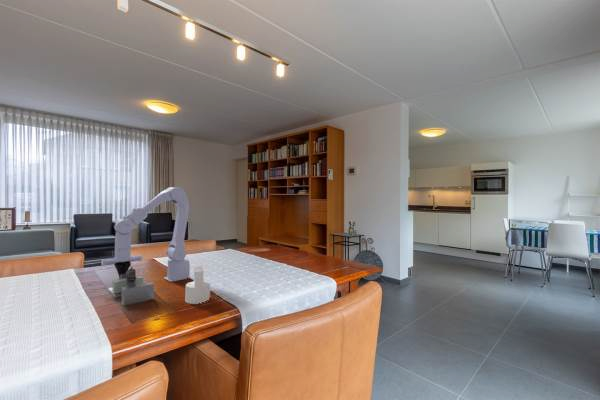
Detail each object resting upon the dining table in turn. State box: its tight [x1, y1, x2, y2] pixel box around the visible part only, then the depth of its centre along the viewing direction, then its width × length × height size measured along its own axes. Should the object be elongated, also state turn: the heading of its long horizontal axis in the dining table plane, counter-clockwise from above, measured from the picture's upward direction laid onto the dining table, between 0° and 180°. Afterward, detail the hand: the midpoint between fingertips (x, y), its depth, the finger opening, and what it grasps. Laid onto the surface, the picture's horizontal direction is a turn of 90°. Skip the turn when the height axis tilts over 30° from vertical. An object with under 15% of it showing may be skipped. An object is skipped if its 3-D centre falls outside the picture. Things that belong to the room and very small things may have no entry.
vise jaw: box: [112, 273, 144, 293], centre depth 112 cm, size 10×6×6 cm, turn 137°
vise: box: [107, 281, 155, 307], centre depth 109 cm, size 10×22×6 cm, turn 47°
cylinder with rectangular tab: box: [184, 265, 211, 305], centre depth 106 cm, size 9×9×12 cm
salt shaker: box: [126, 266, 137, 287], centre depth 106 cm, size 6×6×12 cm
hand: (121, 279), depth 117 cm, fingers closed
